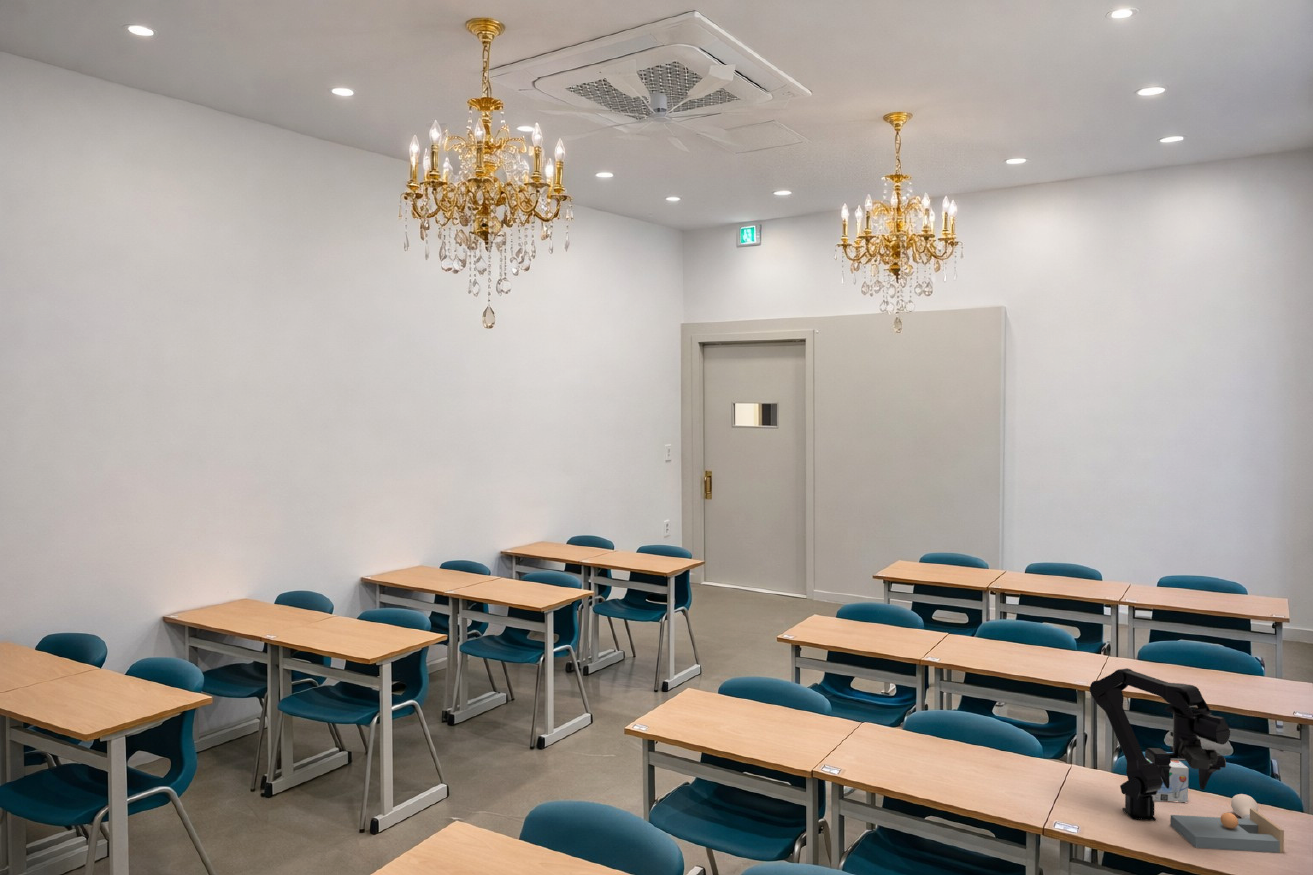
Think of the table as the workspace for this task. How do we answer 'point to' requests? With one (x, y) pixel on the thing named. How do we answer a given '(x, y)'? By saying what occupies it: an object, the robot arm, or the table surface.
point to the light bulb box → (1174, 784)
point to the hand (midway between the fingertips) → (1184, 788)
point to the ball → (1229, 820)
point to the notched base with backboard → (1231, 833)
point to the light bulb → (1243, 805)
